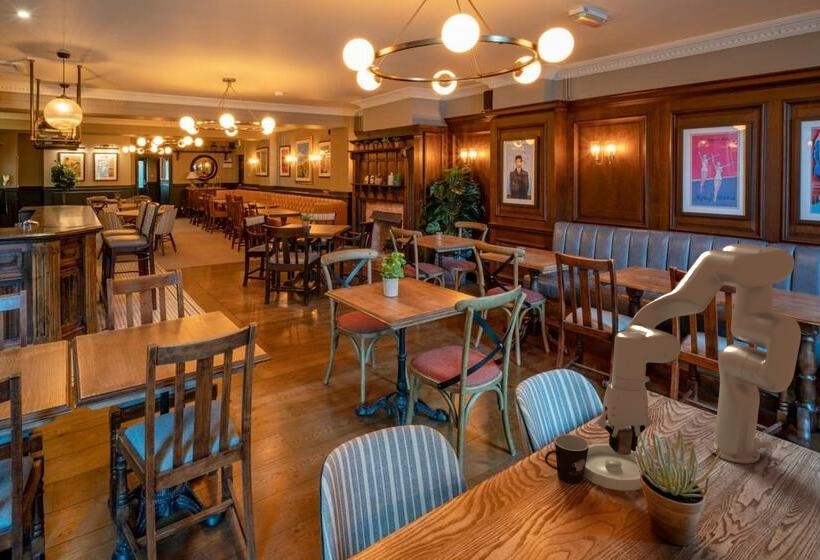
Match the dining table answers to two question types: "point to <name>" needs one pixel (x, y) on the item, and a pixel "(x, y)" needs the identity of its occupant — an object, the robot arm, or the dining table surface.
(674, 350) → the robot arm
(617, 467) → the tray
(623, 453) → the cylinder
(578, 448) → the coffee mug
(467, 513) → the dining table surface
